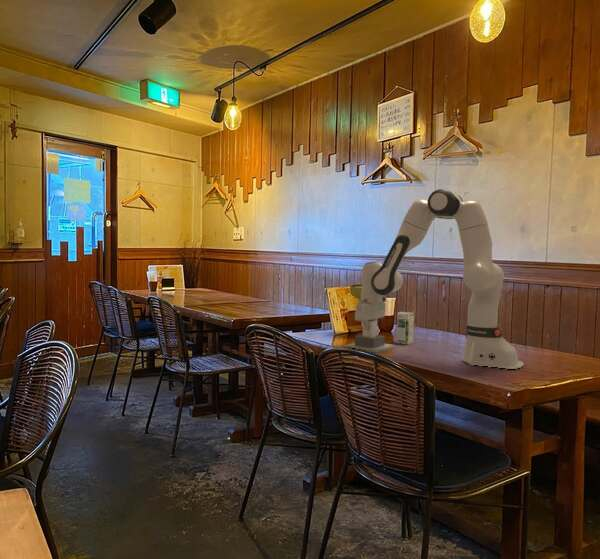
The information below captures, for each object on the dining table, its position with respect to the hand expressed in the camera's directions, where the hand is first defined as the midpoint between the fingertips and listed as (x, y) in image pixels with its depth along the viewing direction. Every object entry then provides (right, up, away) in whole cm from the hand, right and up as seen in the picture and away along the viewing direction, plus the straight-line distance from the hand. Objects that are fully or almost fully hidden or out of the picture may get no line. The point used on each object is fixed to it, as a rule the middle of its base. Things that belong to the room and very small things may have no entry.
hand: (369, 329), depth 220 cm
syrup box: (+18, -8, +12) cm, 23 cm away
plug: (0, -4, 0) cm, 4 cm away
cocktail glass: (+3, -6, +29) cm, 30 cm away
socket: (0, -8, 0) cm, 8 cm away
